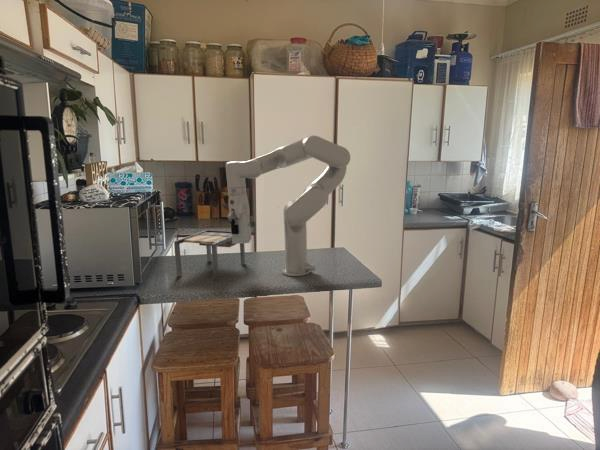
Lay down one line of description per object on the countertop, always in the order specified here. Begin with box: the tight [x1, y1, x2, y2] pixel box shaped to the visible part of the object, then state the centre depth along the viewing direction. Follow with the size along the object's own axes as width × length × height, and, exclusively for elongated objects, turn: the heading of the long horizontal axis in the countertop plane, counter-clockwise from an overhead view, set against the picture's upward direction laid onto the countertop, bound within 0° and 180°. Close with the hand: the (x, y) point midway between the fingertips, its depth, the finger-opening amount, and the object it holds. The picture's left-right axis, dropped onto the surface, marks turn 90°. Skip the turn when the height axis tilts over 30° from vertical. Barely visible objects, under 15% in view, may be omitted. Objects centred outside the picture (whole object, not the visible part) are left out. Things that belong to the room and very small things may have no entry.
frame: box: [173, 229, 246, 282], centre depth 177 cm, size 20×25×16 cm
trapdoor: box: [183, 232, 237, 248], centre depth 176 cm, size 16×17×5 cm
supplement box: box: [231, 212, 252, 245], centre depth 167 cm, size 7×7×13 cm
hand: (240, 231), depth 168 cm, fingers closed on supplement box, 8 cm apart
